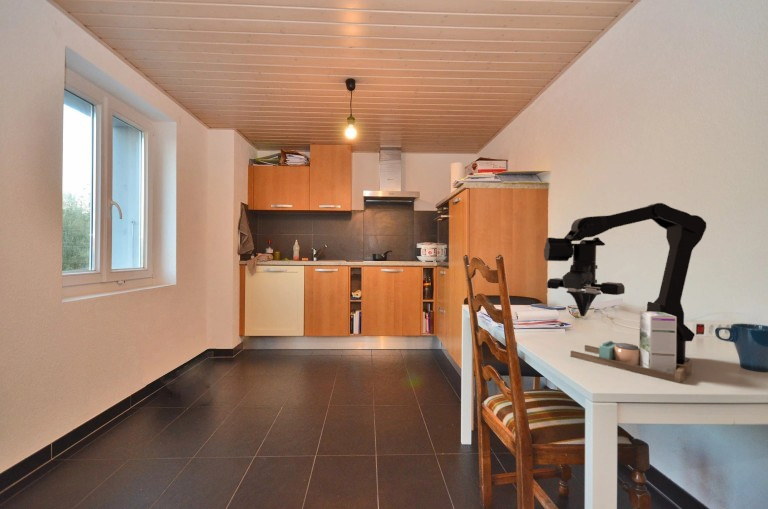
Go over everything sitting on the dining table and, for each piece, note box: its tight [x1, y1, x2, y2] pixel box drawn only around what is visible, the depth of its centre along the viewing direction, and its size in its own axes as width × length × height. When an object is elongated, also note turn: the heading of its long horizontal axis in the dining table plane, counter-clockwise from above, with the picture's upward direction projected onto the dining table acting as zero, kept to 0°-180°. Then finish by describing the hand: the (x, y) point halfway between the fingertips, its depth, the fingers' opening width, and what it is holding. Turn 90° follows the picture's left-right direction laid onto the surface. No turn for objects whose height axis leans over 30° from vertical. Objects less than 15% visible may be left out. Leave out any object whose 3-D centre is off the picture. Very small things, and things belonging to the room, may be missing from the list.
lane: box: [569, 344, 692, 384], centre depth 92 cm, size 10×24×2 cm, turn 38°
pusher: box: [598, 340, 617, 360], centre depth 95 cm, size 8×2×5 cm, turn 128°
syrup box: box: [639, 310, 677, 374], centre depth 87 cm, size 6×6×14 cm
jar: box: [614, 342, 640, 366], centre depth 92 cm, size 5×5×5 cm
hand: (582, 315), depth 100 cm, fingers closed
